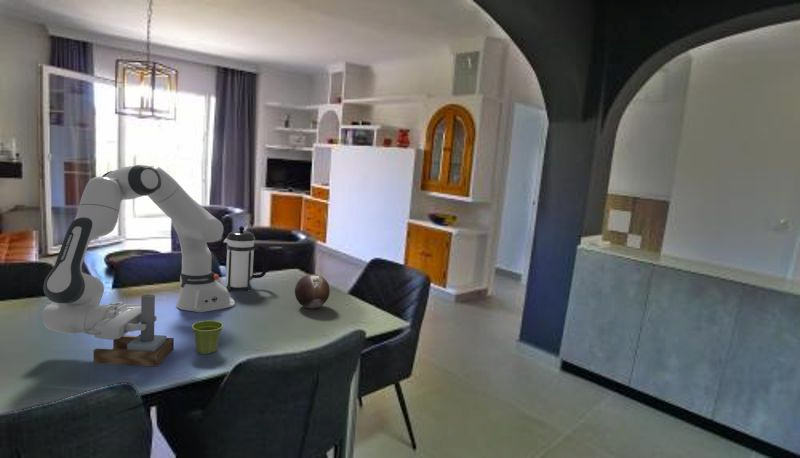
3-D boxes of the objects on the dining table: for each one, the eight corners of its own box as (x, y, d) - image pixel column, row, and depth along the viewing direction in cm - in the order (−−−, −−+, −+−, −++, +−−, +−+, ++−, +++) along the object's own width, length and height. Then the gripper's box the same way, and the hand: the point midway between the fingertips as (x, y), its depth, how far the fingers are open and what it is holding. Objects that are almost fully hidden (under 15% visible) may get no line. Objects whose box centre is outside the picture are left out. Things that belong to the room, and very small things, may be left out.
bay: (173, 349, 148) (173, 338, 147) (157, 366, 136) (157, 353, 136) (115, 346, 146) (115, 334, 146) (93, 363, 135) (93, 350, 134)
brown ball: (304, 315, 191) (307, 280, 189) (287, 304, 202) (289, 271, 200) (334, 310, 201) (337, 277, 199) (317, 300, 212) (319, 269, 210)
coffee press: (237, 294, 209) (240, 230, 205) (215, 287, 217) (217, 225, 213) (267, 287, 224) (270, 227, 220) (245, 280, 232) (248, 222, 228)
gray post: (166, 350, 146) (167, 293, 143) (154, 361, 138) (155, 301, 135) (140, 349, 145) (140, 291, 142) (127, 360, 137) (127, 299, 134)
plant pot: (197, 343, 154) (197, 319, 153) (225, 345, 155) (226, 321, 154) (186, 355, 145) (187, 329, 144) (217, 357, 146) (218, 331, 144)
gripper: (82, 322, 128) (134, 325, 129) (120, 300, 148) (164, 302, 150) (82, 343, 129) (133, 346, 130) (120, 318, 149) (164, 321, 151)
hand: (150, 323), depth 140 cm, fingers open, 5 cm apart
